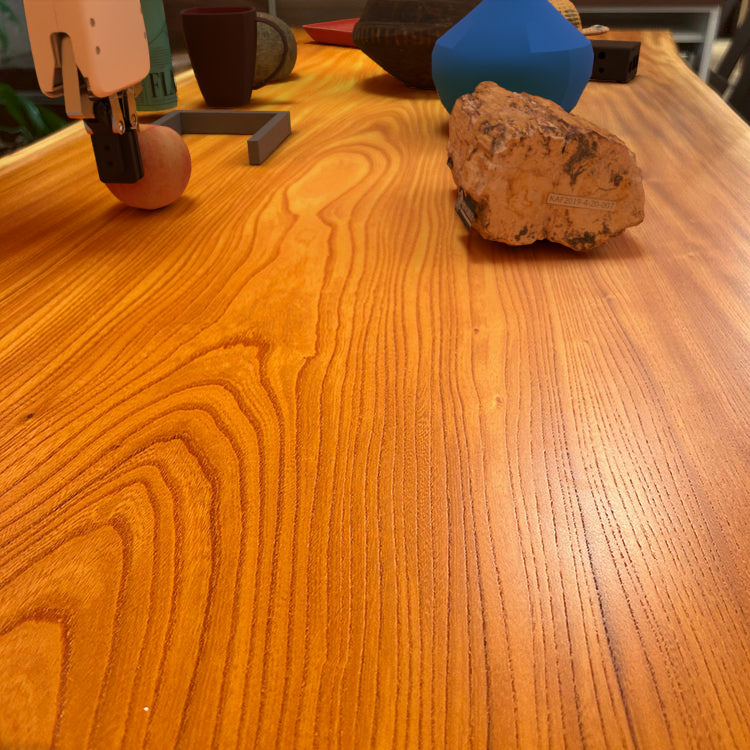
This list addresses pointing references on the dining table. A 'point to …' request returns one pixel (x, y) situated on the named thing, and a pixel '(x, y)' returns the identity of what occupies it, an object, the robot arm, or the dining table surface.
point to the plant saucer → (332, 32)
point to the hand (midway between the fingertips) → (122, 180)
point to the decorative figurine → (576, 18)
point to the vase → (513, 53)
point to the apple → (157, 169)
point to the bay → (234, 127)
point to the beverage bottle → (157, 62)
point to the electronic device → (615, 60)
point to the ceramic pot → (407, 35)
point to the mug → (225, 52)
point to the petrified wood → (539, 172)
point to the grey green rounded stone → (273, 49)
